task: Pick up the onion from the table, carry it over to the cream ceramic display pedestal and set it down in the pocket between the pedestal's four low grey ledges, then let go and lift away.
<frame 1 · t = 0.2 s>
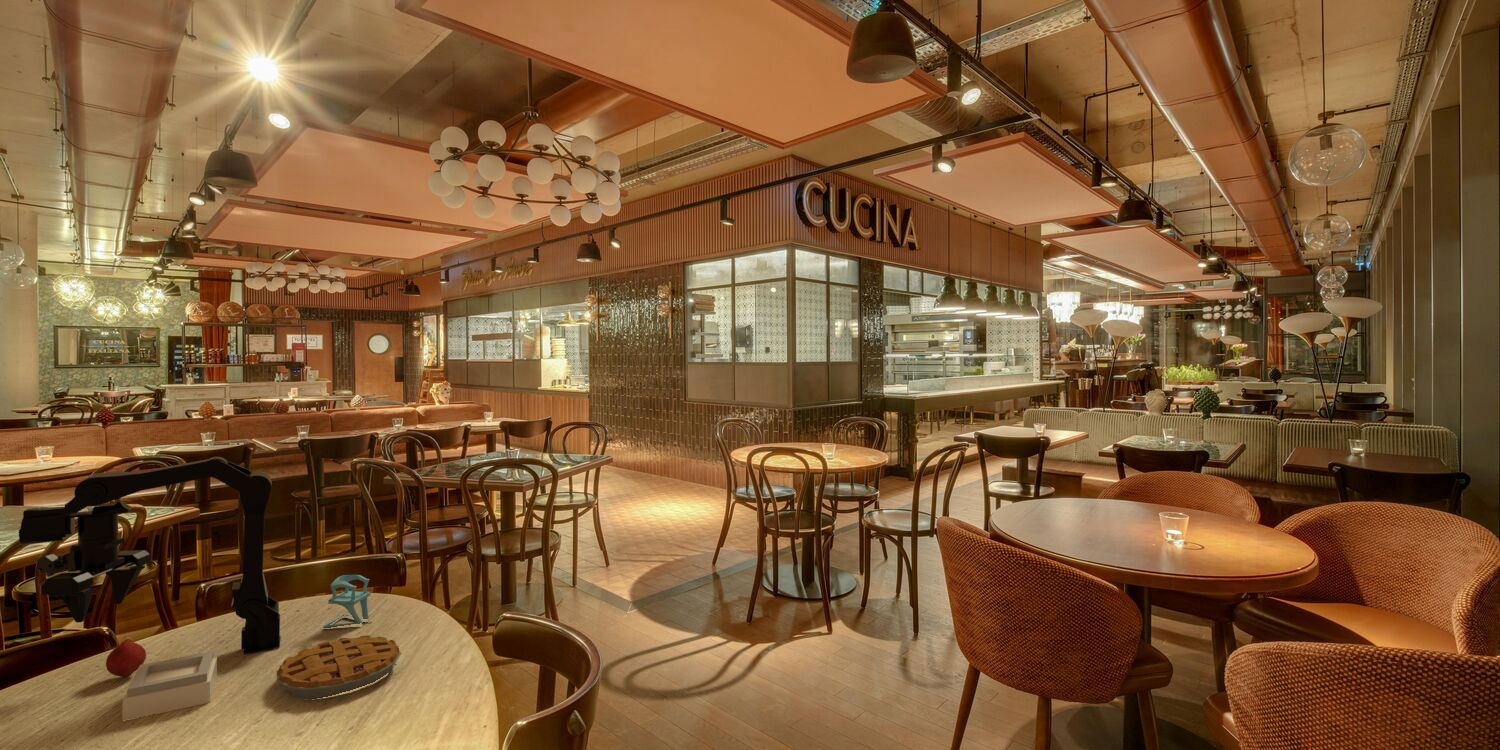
hand: (99, 612, 128), 13 cm above the table, tool pointing down, fingers open, 9 cm apart
chair: (349, 624, 157), on the table
onion: (126, 678, 129), on the table
display pedestal: (172, 697, 122), on the table
pie: (340, 677, 132), on the table
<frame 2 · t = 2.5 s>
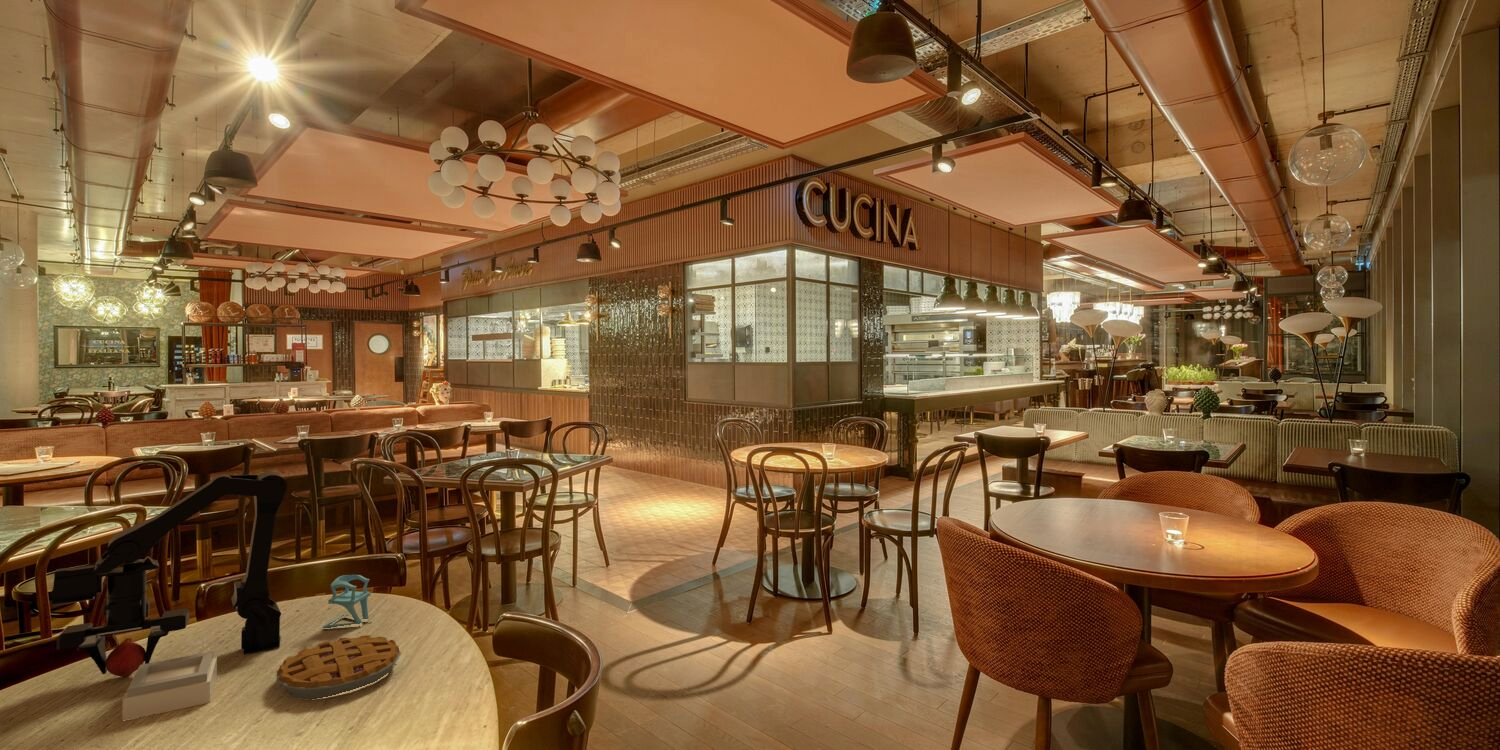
hand: (126, 669, 129), 2 cm above the table, tool pointing down, fingers closed on onion, 6 cm apart
onion: (125, 678, 129), on the table, touching gripper
everything else where it was.
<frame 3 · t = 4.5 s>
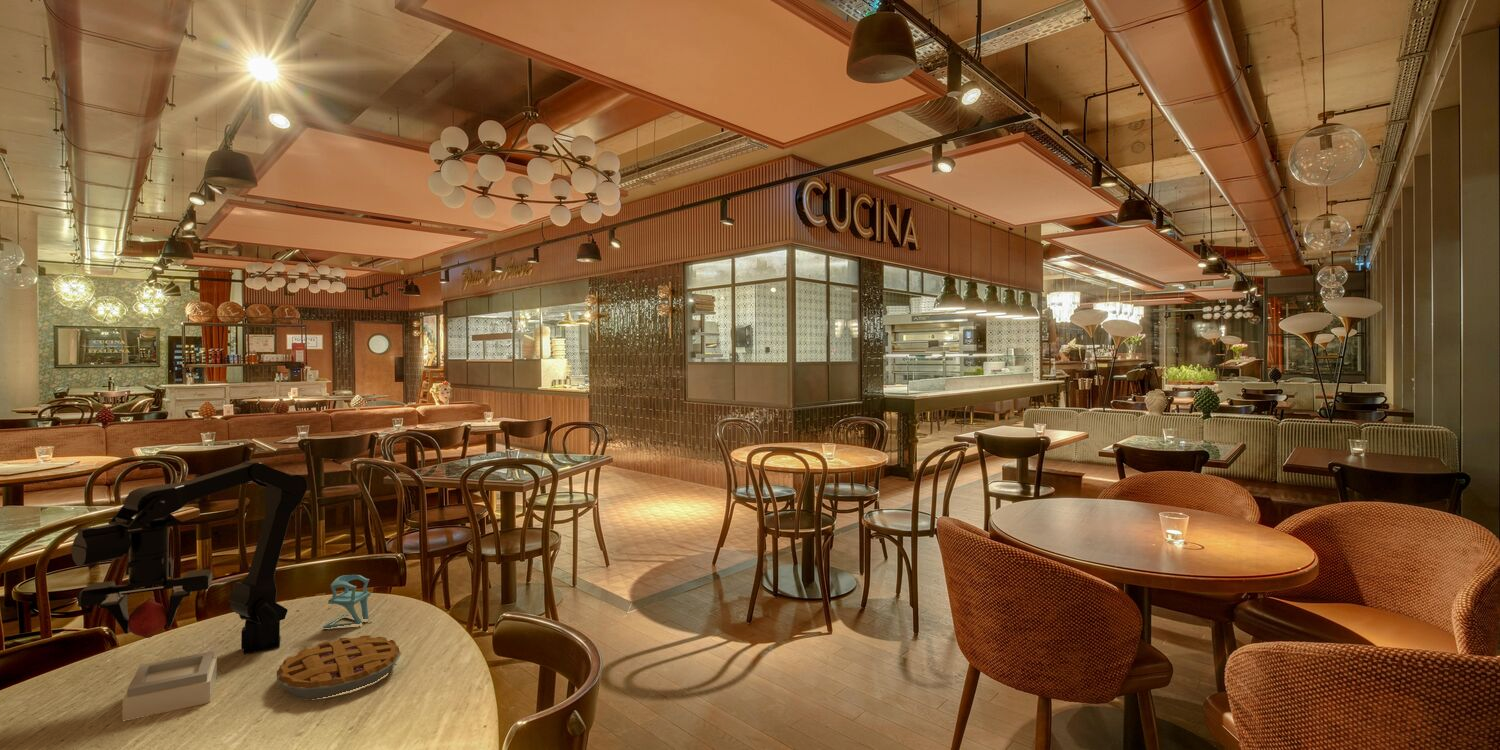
hand: (148, 629, 125), 11 cm above the table, tool pointing down, fingers closed on onion, 6 cm apart
onion: (148, 638, 125), point 10 cm above the table, touching gripper
everything else where it was.
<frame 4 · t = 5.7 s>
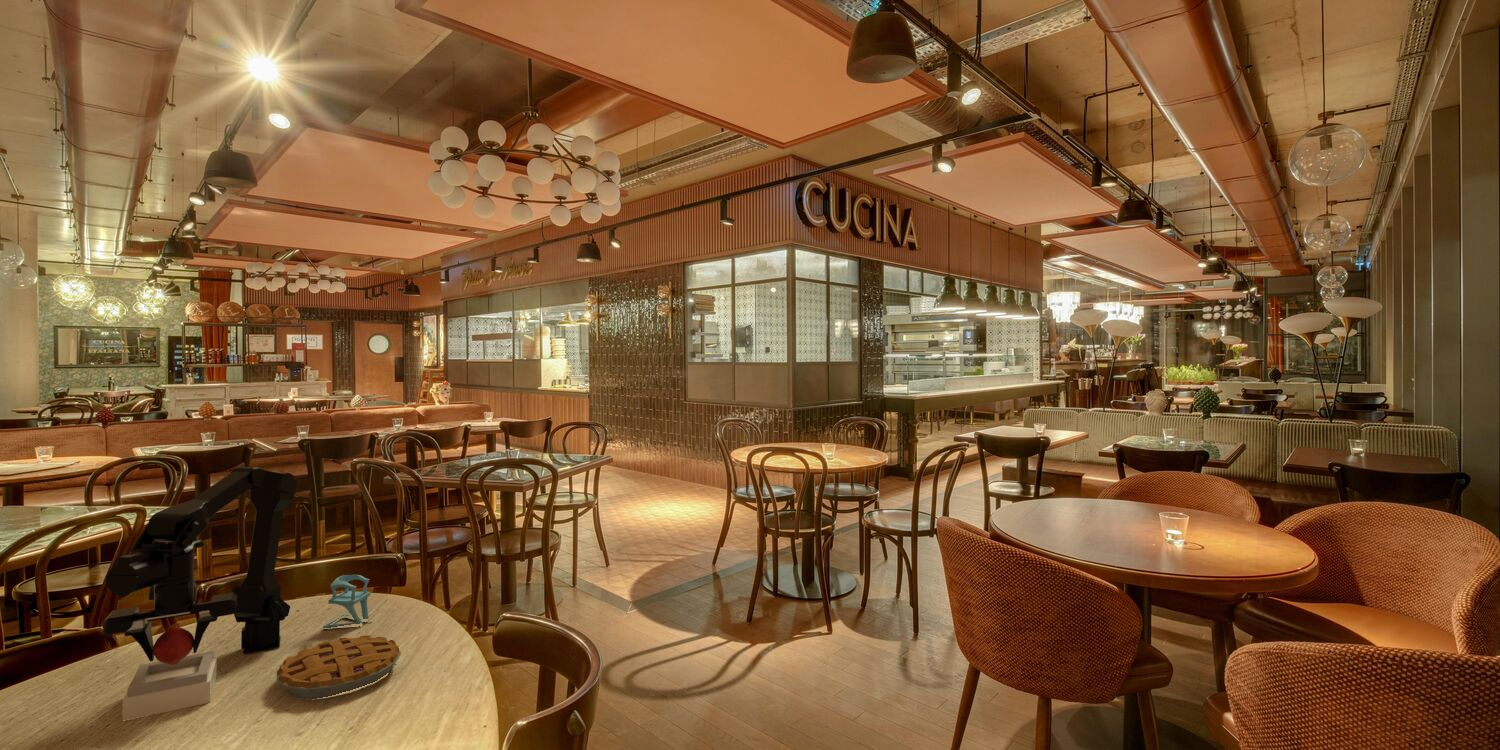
hand: (174, 656, 122), 8 cm above the table, tool pointing down, fingers closed on onion, 6 cm apart
onion: (173, 665, 122), point 6 cm above the table, touching gripper
everything else where it was.
when the fingers open (7 cm above the table, at t = 6.7 s): onion drops 2 cm, resting on display pedestal.
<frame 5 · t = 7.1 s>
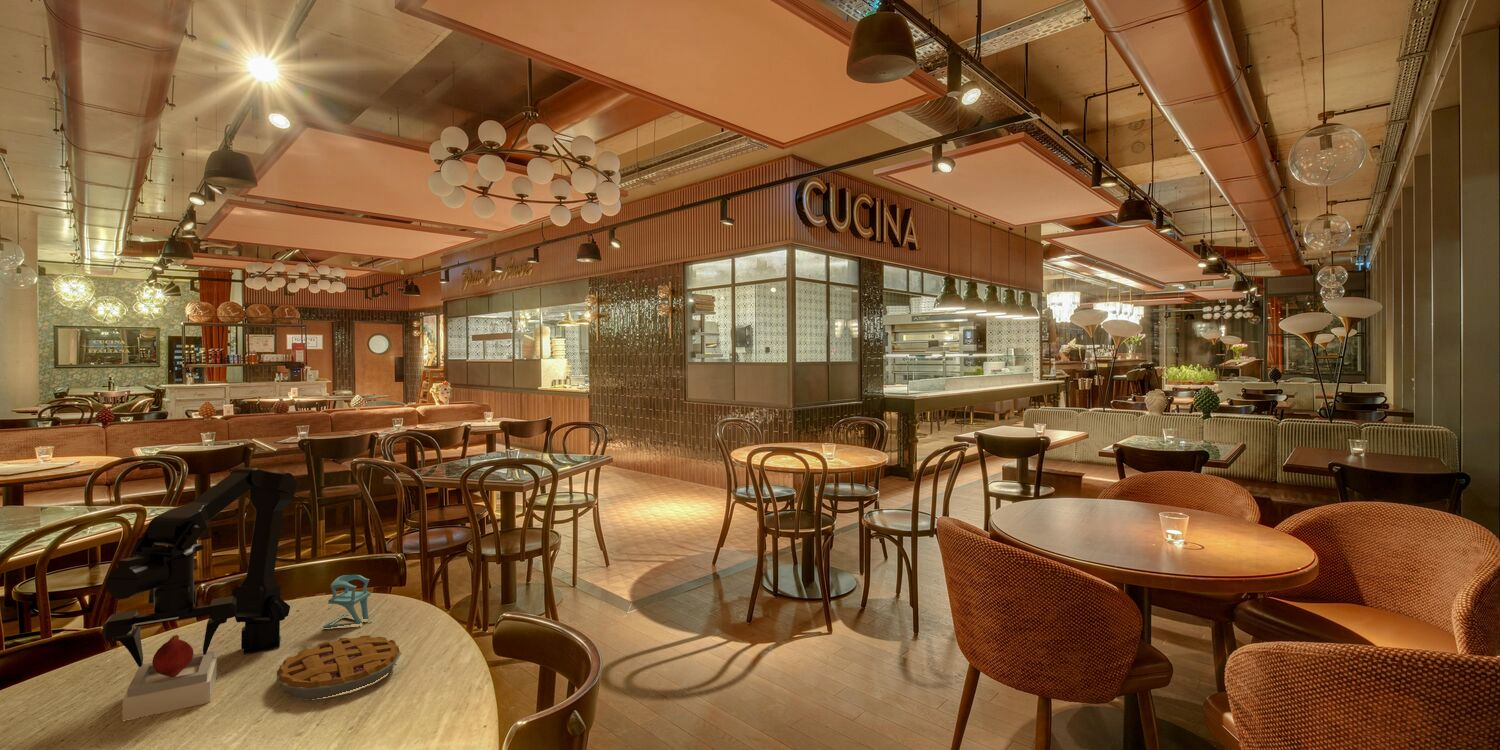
hand: (173, 659, 122), 7 cm above the table, tool pointing down, fingers open, 9 cm apart
onion: (172, 677, 122), point 4 cm above the table, touching display pedestal
everything else where it was.
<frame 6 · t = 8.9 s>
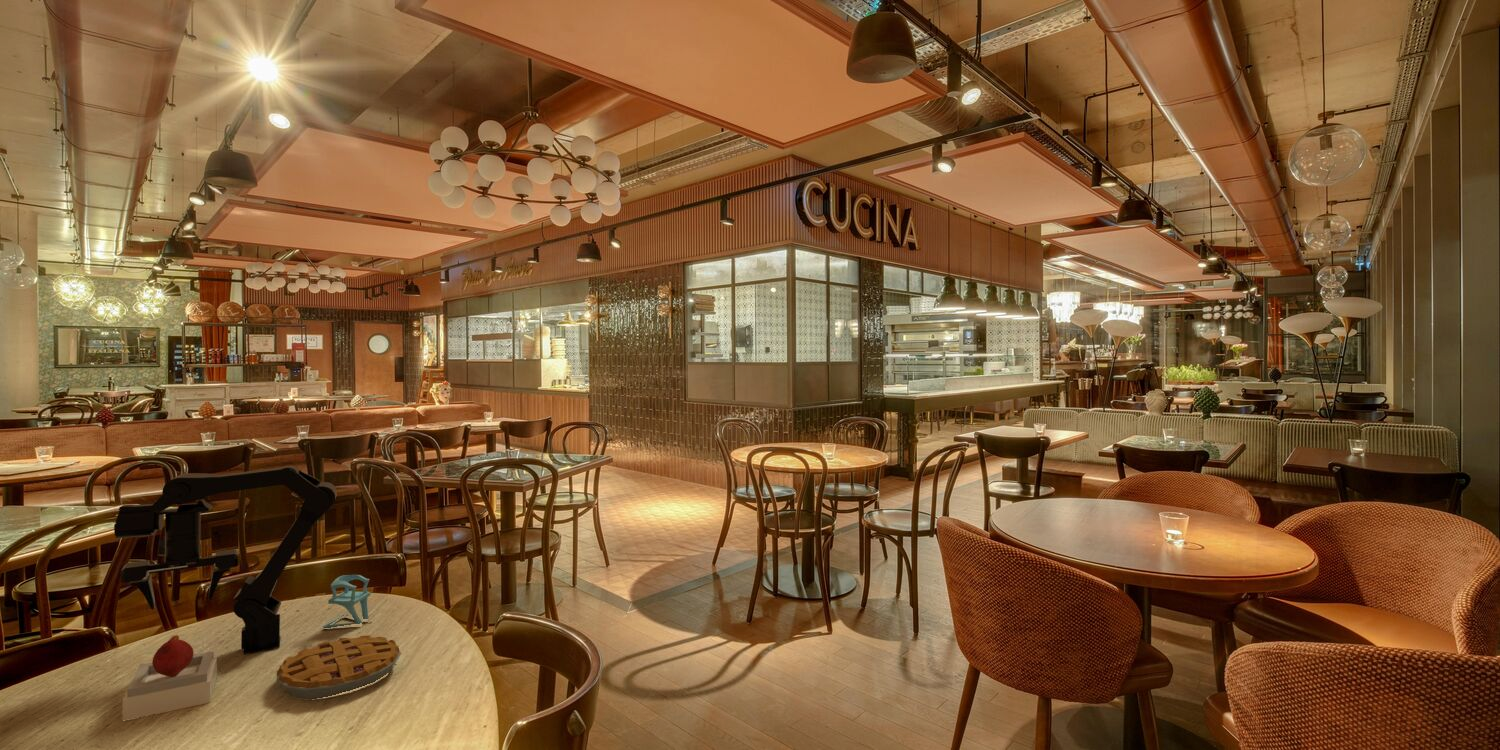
hand: (182, 604, 137), 12 cm above the table, tool pointing down, fingers open, 9 cm apart
nothing on the table moved.
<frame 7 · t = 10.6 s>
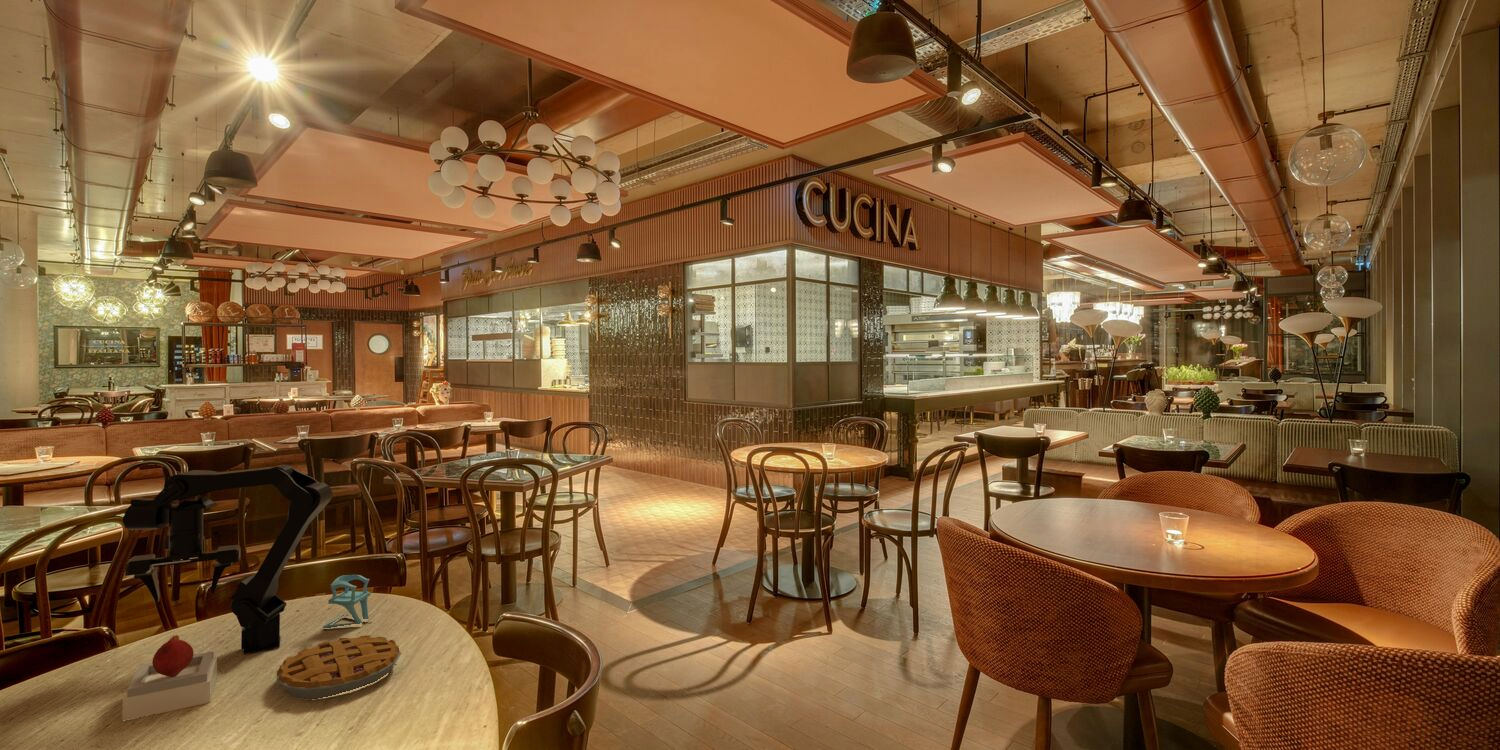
hand: (185, 597, 141), 12 cm above the table, tool pointing down, fingers open, 9 cm apart
nothing on the table moved.
at the end: onion 0.0 cm off-centre on the display pedestal, point 3.8 cm above the display pedestal's base; the gripper is holding nothing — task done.
